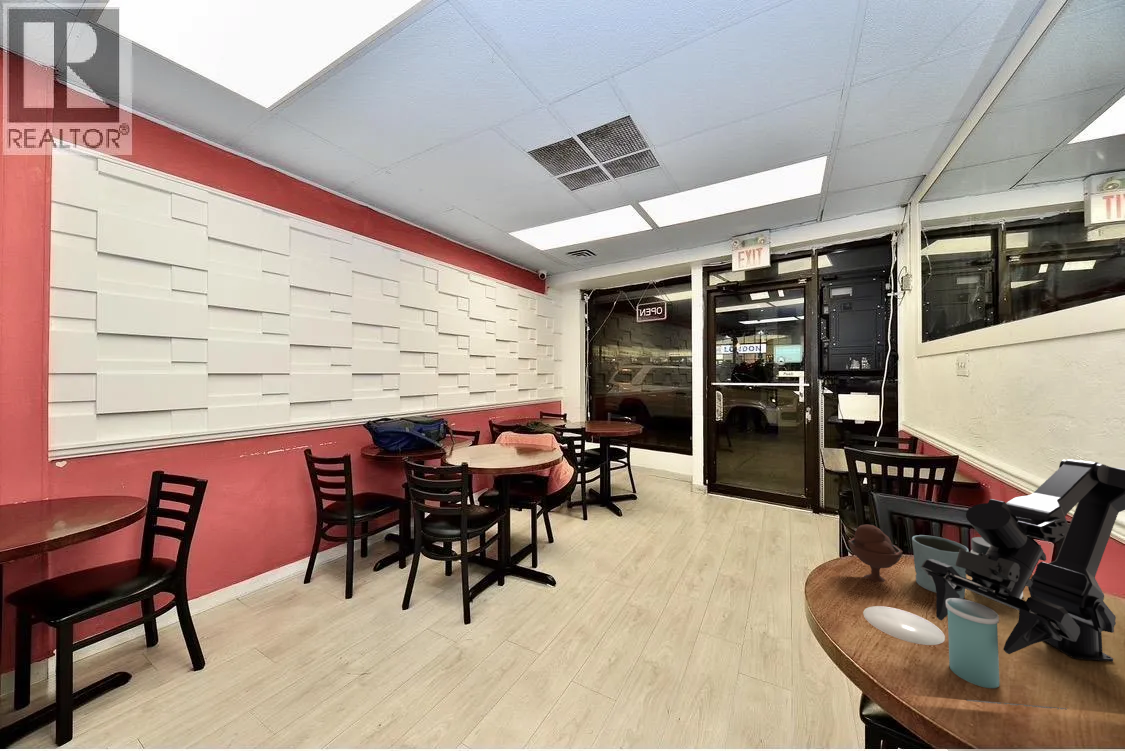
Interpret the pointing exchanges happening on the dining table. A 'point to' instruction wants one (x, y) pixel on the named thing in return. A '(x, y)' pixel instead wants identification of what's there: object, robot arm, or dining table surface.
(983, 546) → the jar
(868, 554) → the ice cream bowl
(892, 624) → the cream saucer
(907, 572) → the dining table surface
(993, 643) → the teal canister
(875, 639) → the dining table surface
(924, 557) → the grey-blue cup
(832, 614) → the dining table surface
